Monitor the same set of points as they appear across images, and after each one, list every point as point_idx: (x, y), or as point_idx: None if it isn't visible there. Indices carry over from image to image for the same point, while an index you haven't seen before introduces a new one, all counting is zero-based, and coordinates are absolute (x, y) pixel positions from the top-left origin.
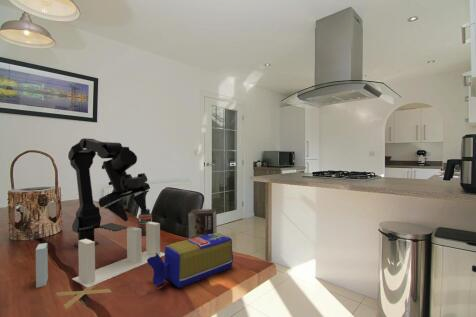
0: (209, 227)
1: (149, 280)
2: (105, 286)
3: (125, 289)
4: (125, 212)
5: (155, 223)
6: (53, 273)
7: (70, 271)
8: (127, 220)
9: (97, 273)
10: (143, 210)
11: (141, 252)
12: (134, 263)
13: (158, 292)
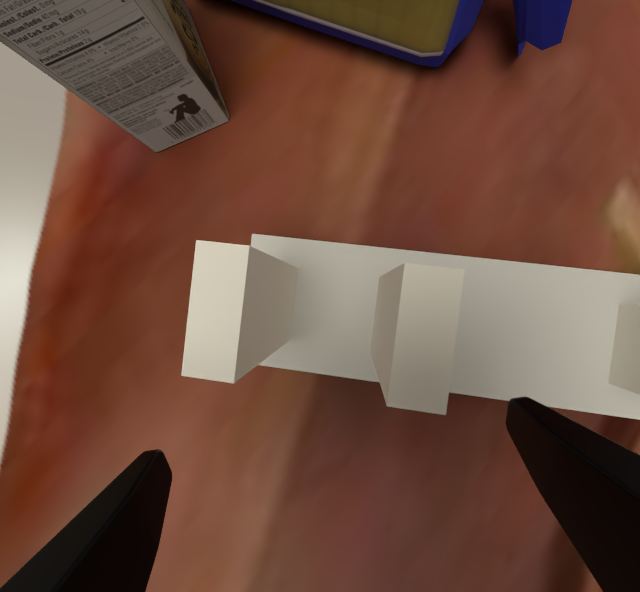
0: None
1: (481, 119)
2: (604, 243)
3: (583, 146)
4: (611, 476)
5: (212, 279)
6: None
7: None
8: (516, 399)
9: (565, 361)
10: (158, 495)
11: (383, 275)
12: None
13: None
